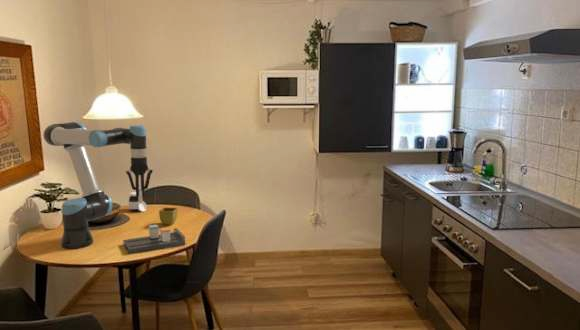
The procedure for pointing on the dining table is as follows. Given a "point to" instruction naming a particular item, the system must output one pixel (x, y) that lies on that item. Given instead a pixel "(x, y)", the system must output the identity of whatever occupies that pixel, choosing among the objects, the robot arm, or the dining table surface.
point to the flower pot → (168, 215)
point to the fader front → (165, 234)
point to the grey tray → (153, 242)
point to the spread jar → (136, 203)
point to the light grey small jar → (154, 231)
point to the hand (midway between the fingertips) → (140, 202)
